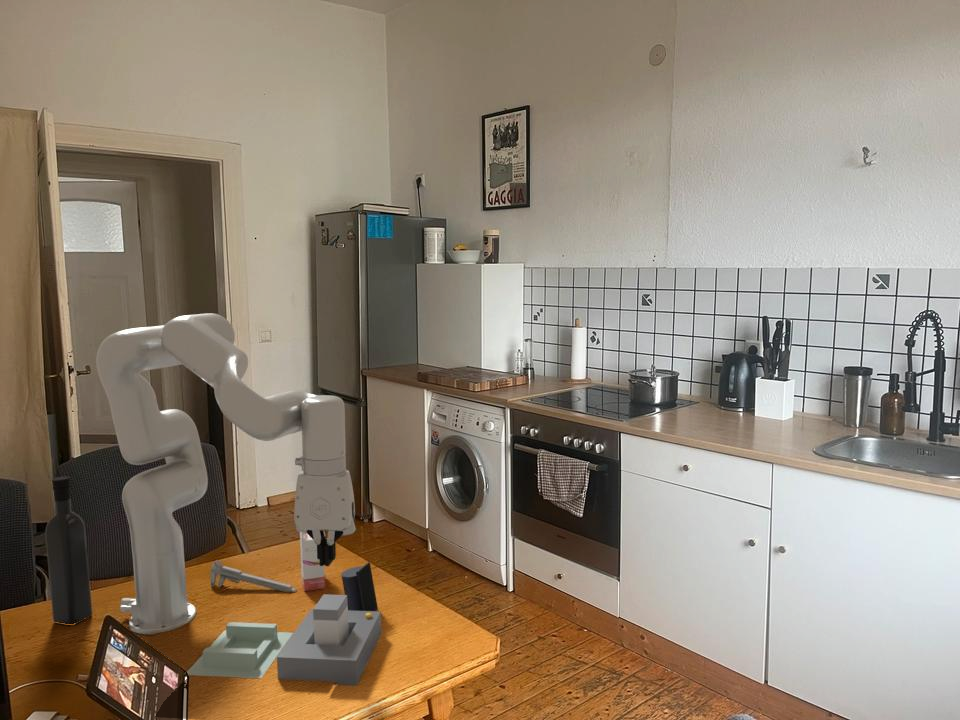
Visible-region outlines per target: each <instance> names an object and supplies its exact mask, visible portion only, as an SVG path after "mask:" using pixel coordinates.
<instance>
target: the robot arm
mask: <svg viewBox="0 0 960 720" xmlns="http://www.w3.org/2000/svg"><path fill="white" fill-rule="evenodd" d="M235 338H236V335H235V330H234V327H233V325H232V324H231V323H230V321H229V320H228V319H227V318H225V317H224V316H222V315H220V314H218V313H214V312H213V313H212V312H211V313H207V312H206V313H199V314H196V313H195V314H187V315H186V314H185V315H179V316H177V317H174V318H171V320H169V321H167V323H165V324H164V325H163V324H162V325H155V326H144V327H143V326H141V327H134V328H133V327H132V328H128V329H127V328H126V329H122V330H119V331H117V332H114V333H111V334H110V335H108V336H107V337H105V338H104V339H103V341H102V342H101V343H100V345H99V346H98V350H97V352H96V357H95V358H96V359H95V362H96V363H95V364H96V371H97V375H98V378H99V381H100V383H101V386H102V388H103V389H104V392H105V395H106V397H107V401H108V405H109V407H110V413H111V417H112V422H113V427H114V430H115V433H116V438H117V443H118V447H119V451H120V453H121V456H122V458H123V460H124V461H125V462H127V463H128V464H130V465H132V466H133V465H134V466H135V465H136V466H137V465H138V466H139V465H140V466H142V465H146V464H149V463H152V462H156V461H159V460H162V459H165V463H166V464H163V465H159V466H155V467H154V468H153V467H152V468H149V469H147V470H144V471H141V472H139V473H138V474H136V475H134V476H132V477H130V479H129V480H128V481H127V482H126V483H125V485H124V487H123V490H122V492H121V500H122V505H123V508H124V512H125V514H126V518H127V521H128V523H127V524H128V526H129V533H130V535H129V536H130V542H131V553H132V565H133V567H132V568H133V579H134V590H135V591H134V592H135V598H132V597H123V598H121V600H120V607H119V612H121V613H130V614H131V617H130V618H129V621H128V623H129V625H128V626H129V629H130V630H131V632H134V633H136V634H139V635H146V634H147V636H148V635H151V636H152V635H153V636H154V635H157V633H165V632H169V631H171V630H175V629H178V628H181V627H183V626H185V625H186V624H188V623H190V622H191V621H192V620H193V619H194V618H196V615H197V610H196V609H197V608H196V607H195V605H193V604H192V603H190V602H188V592H187V591H188V590H187V578H186V563H185V548H184V537H183V536H184V535H183V531H182V529H181V526H180V525H179V523H178V522H177V521H176V519H175V518H174V515H173V512H175V511H177V510H179V509H181V508H184V507H186V506H189V505H190V504H193V503H195V502H197V501H199V500H200V499H202V498H203V497H204V495H205V494H206V492H207V491H208V490H207V489H208V487H209V485H208V484H209V481H208V480H209V479H208V471H207V466H206V463H205V462H206V461H205V458H204V457H205V456H204V454H203V450H202V449H203V448H202V445H201V444H202V443H201V440H200V435H199V431H198V428H197V425H196V423H195V422H194V420H193V419H192V418H191V416H190V415H189V414H187V412H185V411H183V410H181V409H177V408H173V409H172V408H171V409H170V408H169V409H164V410H160V408H159V405H158V401H157V396H156V395H157V394H156V393H155V390H154V388H153V387H152V385H151V384H150V382H149V381H148V380H147V379H146V378H145V376H143V375H141V373H143V372H144V371H150V370H151V371H152V370H158V369H163V368H169V367H176V366H179V365H180V366H181V365H182V366H184V367H185V368H186V369H188V370H189V371H190V372H192V373H193V374H195V375H196V376H197V377H199V378H200V379H201V380H203V381H204V382H205V383H207V384H208V385H209V386H210V387H212V388H213V389H214V390H213V391H214V397H215V400H216V403H217V405H218V407H219V409H220V411H221V413H222V414H223V416H224V417H225V418H226V419H227V420H228V421H229V422H231V423H232V424H233V425H234V426H236V427H237V428H239V430H241V431H243V432H244V433H245V434H247V435H248V436H250V437H251V438H253V439H256V440H259V441H263V442H269V441H275V440H277V439H280V438H283V437H285V436H289V435H292V434H296V433H300V432H301V438H302V439H301V442H302V443H301V444H302V445H301V446H302V448H301V449H302V456H300V457H295V460H294V464H295V466H299V467H301V471H299V473H298V475H297V478H296V485H295V493H294V494H295V495H294V496H295V497H294V510H293V511H294V512H293V514H294V515H293V519H294V525H295V530H296V531H297V532H299V533H300V532H302V533H307V534H308V535H309V536H310V537H311V538H312V539H313V540H314V543H315V544H316V545H317V559H320V566H323V565H324V567H330V565H331V564H332V562H333V561H335V559H336V556H337V550H336V549H337V548H336V542H337V541H338V540H339V539H340V538H341V537H342V536H348V535H352V534H354V533H355V531H356V529H357V528H356V525H355V522H354V521H355V518H356V517H355V516H356V506H355V505H356V504H355V494H354V487H353V483H352V477H351V473H350V471H349V470H348V469H347V468H346V467H347V463H346V461H347V458H346V457H347V456H346V413H345V411H346V410H345V408H346V407H345V402H344V400H343V399H342V398H341V397H339V396H336V395H329V394H328V395H327V394H326V395H325V394H323V395H322V394H321V395H318V394H314V393H310V392H308V391H304V390H300V389H299V390H290V391H285V392H280V393H276V394H273V395H270V396H266V397H263V396H261V395H260V394H258V393H257V392H256V391H254V390H253V389H252V388H250V387H248V386H247V384H245V383H244V381H242V379H243V378H244V376H245V374H246V372H247V369H248V366H249V359H248V356H247V354H246V352H245V351H244V350H242V349H241V348H238V346H236V345H234V343H235ZM325 531H326V532H327V537H326V533H325Z"/></svg>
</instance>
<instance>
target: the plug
mask: <svg viewBox="0 0 960 720" xmlns="http://www.w3.org/2000/svg"><path fill="white" fill-rule="evenodd" d="M312 609H313V618H314V640H315V644H317V645H342V646H344V644H345V643H346V641H347V639H348V637H349V629H348V603H347V595H345V594H324V593H323V595H321V597H320V599H319V600H318V602H317V603H316V604H315V606H314V607H313V608H312Z"/></svg>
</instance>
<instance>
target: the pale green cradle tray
mask: <svg viewBox="0 0 960 720" xmlns="http://www.w3.org/2000/svg"><path fill="white" fill-rule="evenodd" d="M293 634H294V632H288V631H287V632H283V631H278V624H277V623H258V622H239V621H238V622H235V621H233V622H231V621H229V622H228V623H227V624H226V625H225V630H223V632H222V633H221V634H220V635H219V636H218V637H217V638H216V639H215V640H214V641H213V642H212V644H211V645H210V646H209V647H205V648H204V650H202V655H201V656H200V657H199V658H198V659H197V660H196V662H194V663H193V665H191V666H190V668H189V669H188V670H187V673H188V675H187V676H200V677H207V676H208V677H224V678H244V679H245V678H246V679H247V678H249V679H262V678H263V677H264V676H265V674H266V672H267V671H268V669H269V668H270V667H271V666H272V664H273V662H274V661H275V659H277V656H278V655H279V653H280V652H281V651H282V649H283V648H284V646H285V645H286V644H287V642H288V641H289V639H290V638H291V637H292V635H293Z"/></svg>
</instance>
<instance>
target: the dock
mask: <svg viewBox="0 0 960 720" xmlns="http://www.w3.org/2000/svg"><path fill="white" fill-rule="evenodd" d="M313 609H314V608H311V609H310V610H309V611H308V612H307V614H306V615H305V617H304V618H303V620H301V622H300V624H299V625H298V626H297V628H296V629H295V631H294V632H293V635H292V636H291V637H290V639H289V640H288V642H287V643H286V644H285V646H284V647H283V649H282V650H281V651H280V653H279V654H278V656H277V657H276V666H277V667H276V668H277V669H276V670H277V680H287V681H292V680H293V681H312V682H313V681H314V682H333V683H332V685H333V686H334V685H335V686H336V685H337V686H353V687H354V686H355V687H356V686H358V684H359V683H360V680H361V678H362V676H363V674H364V672H365V670H366V667H367V665H368V663H369V661H370V659H371V657H372V655H373V653H374V651H375V648H376V647H377V644H378V642H379V640H380V638H381V636H382V612H381V611H378V610H377V611H350V610H348V629H349V637H348V639H347V641H346V643H345V644H344V646H342V645H317V644H315V640H314V618H313Z"/></svg>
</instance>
